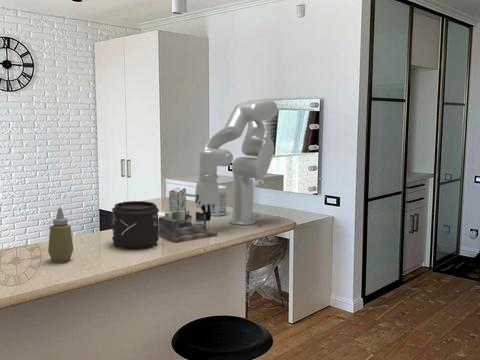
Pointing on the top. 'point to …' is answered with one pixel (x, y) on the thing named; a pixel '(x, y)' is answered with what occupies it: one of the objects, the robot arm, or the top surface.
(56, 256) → the squeeze bottle
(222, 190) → the supplement tub
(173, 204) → the candy bar box
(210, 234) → the force tester
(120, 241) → the black round canister
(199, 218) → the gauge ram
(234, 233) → the top surface
